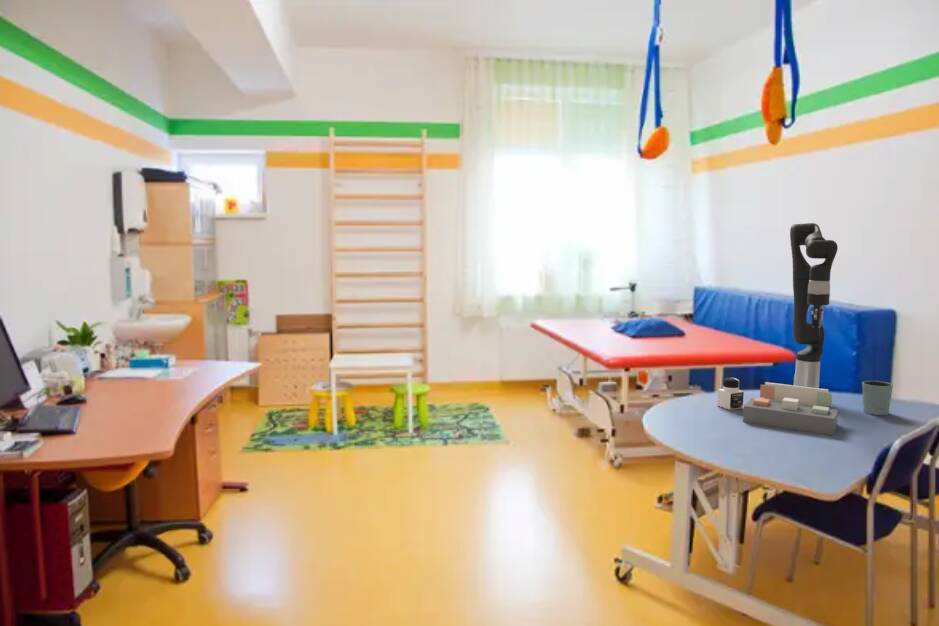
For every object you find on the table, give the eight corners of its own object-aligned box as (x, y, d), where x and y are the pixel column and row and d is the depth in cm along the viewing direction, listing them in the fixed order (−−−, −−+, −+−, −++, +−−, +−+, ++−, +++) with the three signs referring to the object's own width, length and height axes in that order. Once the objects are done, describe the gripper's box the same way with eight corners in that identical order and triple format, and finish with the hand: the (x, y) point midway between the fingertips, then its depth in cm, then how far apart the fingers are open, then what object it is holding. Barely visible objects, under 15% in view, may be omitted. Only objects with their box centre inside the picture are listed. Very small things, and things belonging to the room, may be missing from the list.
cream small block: (781, 411, 242) (782, 400, 241) (783, 408, 246) (784, 397, 245) (796, 414, 239) (797, 402, 239) (798, 410, 243) (799, 399, 243)
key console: (742, 421, 246) (744, 390, 244) (753, 409, 261) (754, 380, 260) (832, 435, 229) (835, 402, 227) (838, 422, 245) (840, 391, 243)
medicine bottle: (730, 410, 261) (731, 381, 260) (716, 406, 268) (718, 377, 266) (743, 408, 264) (744, 379, 263) (729, 404, 270) (731, 375, 269)
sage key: (811, 420, 237) (812, 408, 236) (813, 417, 241) (813, 405, 240) (826, 422, 234) (827, 410, 233) (828, 419, 238) (829, 407, 237)
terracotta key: (752, 412, 248) (753, 400, 247) (755, 409, 252) (756, 397, 251) (766, 414, 245) (767, 402, 244) (769, 411, 249) (770, 399, 248)
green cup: (893, 417, 251) (895, 387, 249) (863, 414, 254) (865, 385, 252) (886, 410, 260) (888, 381, 258) (857, 408, 263) (859, 379, 262)
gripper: (810, 290, 256) (807, 333, 258) (805, 293, 245) (802, 338, 247) (831, 291, 252) (828, 335, 254) (827, 294, 241) (824, 340, 243)
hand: (815, 336), depth 251 cm, fingers closed
